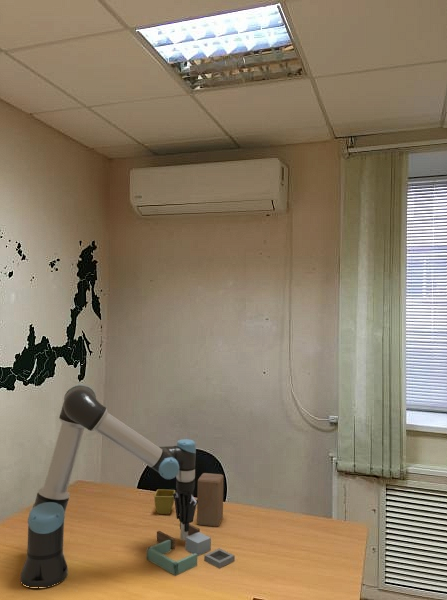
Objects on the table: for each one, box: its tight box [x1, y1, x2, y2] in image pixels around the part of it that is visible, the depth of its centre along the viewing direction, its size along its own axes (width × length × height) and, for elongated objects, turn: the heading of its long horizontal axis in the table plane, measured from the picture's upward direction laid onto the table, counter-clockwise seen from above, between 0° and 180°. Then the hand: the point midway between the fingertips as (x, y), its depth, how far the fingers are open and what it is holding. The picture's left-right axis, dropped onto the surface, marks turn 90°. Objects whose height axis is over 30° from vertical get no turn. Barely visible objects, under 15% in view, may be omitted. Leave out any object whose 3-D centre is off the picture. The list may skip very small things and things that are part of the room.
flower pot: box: [153, 489, 176, 515], centre depth 226 cm, size 9×9×9 cm
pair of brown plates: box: [156, 523, 201, 551], centre depth 197 cm, size 14×10×4 cm
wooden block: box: [196, 472, 224, 528], centre depth 216 cm, size 10×10×20 cm
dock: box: [146, 540, 198, 577], centre depth 179 cm, size 10×16×4 cm, turn 46°
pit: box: [204, 548, 236, 569], centre depth 181 cm, size 8×8×2 cm
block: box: [184, 532, 212, 557], centre depth 189 cm, size 7×7×5 cm
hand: (184, 538), depth 195 cm, fingers closed
